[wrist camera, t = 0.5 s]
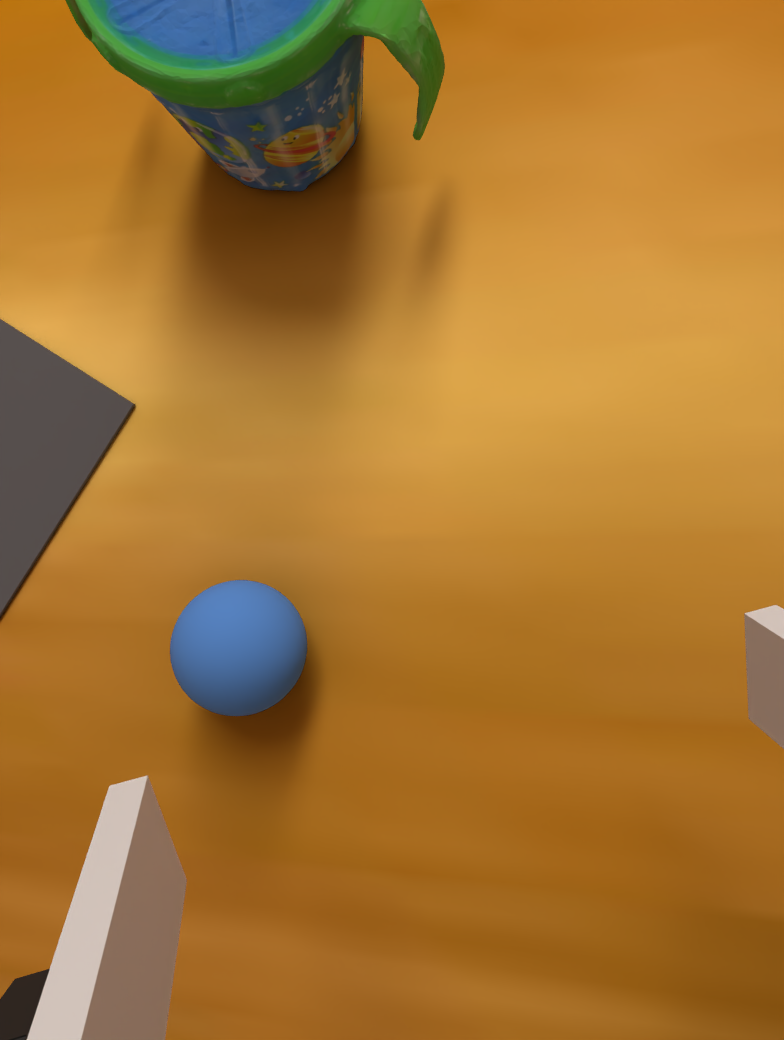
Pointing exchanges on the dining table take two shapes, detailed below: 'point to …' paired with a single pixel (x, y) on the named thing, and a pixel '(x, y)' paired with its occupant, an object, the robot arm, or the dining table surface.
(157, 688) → the dining table surface
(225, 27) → the snack cup
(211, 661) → the ball
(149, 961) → the robot arm
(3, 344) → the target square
